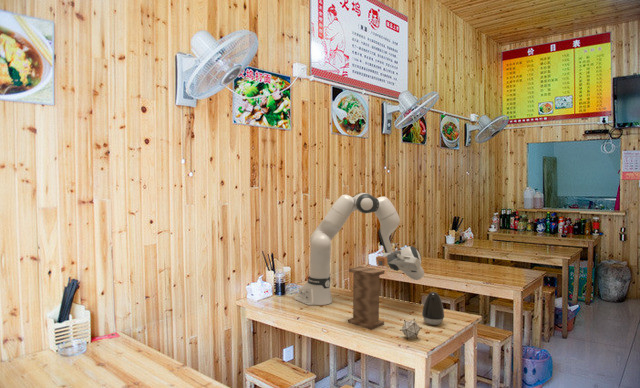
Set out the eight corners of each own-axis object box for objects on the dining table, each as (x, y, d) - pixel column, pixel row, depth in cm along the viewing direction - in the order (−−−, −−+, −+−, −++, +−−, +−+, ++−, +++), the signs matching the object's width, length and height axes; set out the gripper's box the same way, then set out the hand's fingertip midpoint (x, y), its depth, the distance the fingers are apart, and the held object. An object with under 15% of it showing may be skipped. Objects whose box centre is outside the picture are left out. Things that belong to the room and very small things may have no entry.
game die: (414, 347, 188) (422, 334, 181) (395, 339, 189) (403, 326, 183) (418, 331, 194) (425, 318, 188) (400, 323, 196) (407, 310, 190)
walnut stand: (347, 322, 207) (348, 269, 206) (360, 317, 215) (361, 265, 214) (371, 330, 198) (372, 273, 197) (383, 324, 205) (384, 270, 204)
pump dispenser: (420, 325, 205) (421, 293, 204) (423, 318, 215) (424, 288, 214) (443, 328, 201) (443, 296, 201) (444, 321, 211) (445, 290, 210)
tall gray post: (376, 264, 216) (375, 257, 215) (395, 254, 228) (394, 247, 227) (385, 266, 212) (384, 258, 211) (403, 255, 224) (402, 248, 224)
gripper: (391, 256, 240) (379, 246, 230) (424, 261, 226) (412, 251, 217) (387, 266, 237) (375, 257, 228) (421, 272, 224) (409, 262, 215)
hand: (394, 254), depth 222 cm, fingers closed on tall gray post, 2 cm apart
